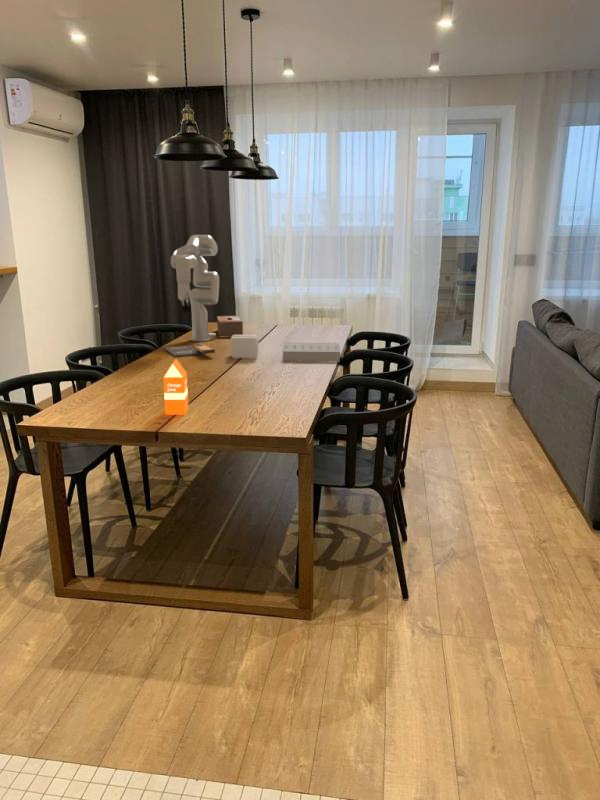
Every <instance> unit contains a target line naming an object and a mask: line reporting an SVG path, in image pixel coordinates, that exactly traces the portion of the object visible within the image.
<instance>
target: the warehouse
mask: <svg viewBox="0 0 600 800" xmlns="http://www.w3.org/2000/svg"><path fill="white" fill-rule="evenodd" d="M299 360H300V361H299ZM282 361H283V362H305V361H337V362H336V363H340V362H341V347H340V343H336V342H334V343H332V342H330V343H329V342H319V343H318V342H284V344H283V350H282Z"/></svg>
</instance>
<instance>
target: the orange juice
mask: <svg viewBox="0 0 600 800" xmlns="http://www.w3.org/2000/svg"><path fill="white" fill-rule="evenodd" d="M162 378H163V393H164V394H163V396H164V397H163V398H164V412H165V416H166V415H169V416H170V415H173V416H174V415H177V416H181V415H185V416H186V413H187V412H188V410H189V395H188V394H189V392H188V391H189V390H188V373H187V371H186V369H184V367H183V366H182V365H181V363H180V362H179V361H178V359H177V358H176V359H175V360H174V361H173V363H172V364H171V365H170V366H169V368H168V370H167V372H166V373H165V374H164V376H163V377H162Z"/></svg>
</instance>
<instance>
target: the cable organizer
mask: <svg viewBox="0 0 600 800" xmlns="http://www.w3.org/2000/svg"><path fill="white" fill-rule="evenodd" d="M258 354H259V337H258V335H255V334H243V335H233V336H232V337H230V356H231V357H232V358H234V359H236V358H242V359H247V358H248V359H247V360H254V359H256V358H257V357H258Z"/></svg>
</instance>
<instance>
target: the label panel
mask: <svg viewBox="0 0 600 800" xmlns="http://www.w3.org/2000/svg"><path fill="white" fill-rule="evenodd" d="M163 350H165V351H166V352H168V354H170V355H171V356H172V357H173V358H182V357H183V356H184V357H193V356H194V355H196V356H203V355H204V354H203V353H202V352H200V351H198V350H197V349H195V346H193V345H181V346H169V347H168V346H167V347H164V349H163ZM194 357H195V356H194Z"/></svg>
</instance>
